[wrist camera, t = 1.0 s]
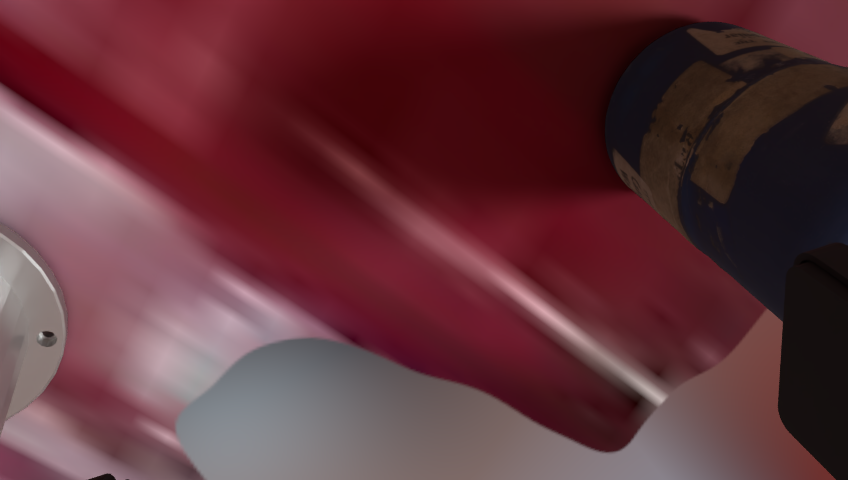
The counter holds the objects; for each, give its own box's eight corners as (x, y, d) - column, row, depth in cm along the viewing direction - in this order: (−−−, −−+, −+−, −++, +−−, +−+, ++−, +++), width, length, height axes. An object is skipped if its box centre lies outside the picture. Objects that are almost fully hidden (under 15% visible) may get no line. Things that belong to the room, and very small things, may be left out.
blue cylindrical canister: (782, 17, 41) (1142, 142, 25) (734, 188, 45) (1017, 385, 29) (611, 12, 38) (894, 147, 23) (578, 194, 42) (797, 411, 27)
